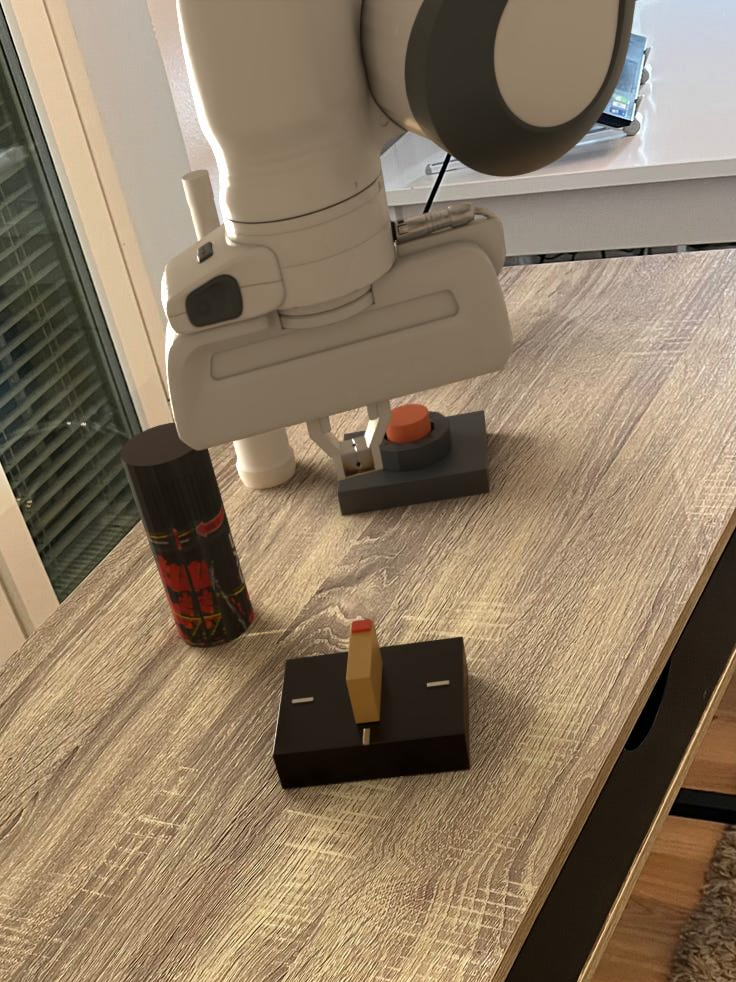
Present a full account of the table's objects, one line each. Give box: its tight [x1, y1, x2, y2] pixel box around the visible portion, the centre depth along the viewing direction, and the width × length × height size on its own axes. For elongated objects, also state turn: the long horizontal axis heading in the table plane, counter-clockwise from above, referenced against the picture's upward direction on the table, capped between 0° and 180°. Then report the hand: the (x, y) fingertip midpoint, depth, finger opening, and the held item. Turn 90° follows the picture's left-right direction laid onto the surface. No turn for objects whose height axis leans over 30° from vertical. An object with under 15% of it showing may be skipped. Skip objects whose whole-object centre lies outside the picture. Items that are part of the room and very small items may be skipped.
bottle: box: [181, 169, 297, 490], centre depth 104 cm, size 5×5×25 cm
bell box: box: [336, 409, 491, 517], centre depth 106 cm, size 12×10×4 cm
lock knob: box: [346, 618, 383, 724], centre depth 81 cm, size 6×2×4 cm, turn 174°
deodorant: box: [119, 421, 255, 648], centre depth 93 cm, size 6×6×15 cm
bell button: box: [386, 403, 431, 444], centre depth 104 cm, size 4×4×2 cm
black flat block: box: [271, 636, 471, 790], centre depth 83 cm, size 12×10×3 cm
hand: (359, 471), depth 80 cm, fingers closed
